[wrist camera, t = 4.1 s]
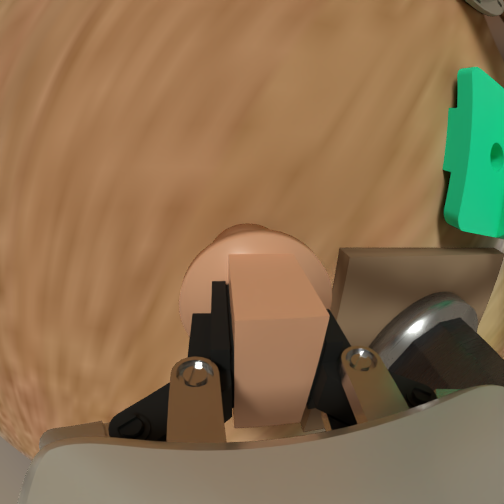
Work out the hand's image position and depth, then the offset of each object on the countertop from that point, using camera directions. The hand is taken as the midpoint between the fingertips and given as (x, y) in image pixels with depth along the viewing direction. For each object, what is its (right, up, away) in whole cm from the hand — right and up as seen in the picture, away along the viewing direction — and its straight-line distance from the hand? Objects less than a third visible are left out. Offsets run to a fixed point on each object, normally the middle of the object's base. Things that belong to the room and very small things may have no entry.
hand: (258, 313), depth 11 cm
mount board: (+14, -5, +10) cm, 18 cm away
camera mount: (+17, +10, +4) cm, 20 cm away
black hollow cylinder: (+14, -6, +9) cm, 17 cm away
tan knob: (0, +2, +4) cm, 5 cm away
